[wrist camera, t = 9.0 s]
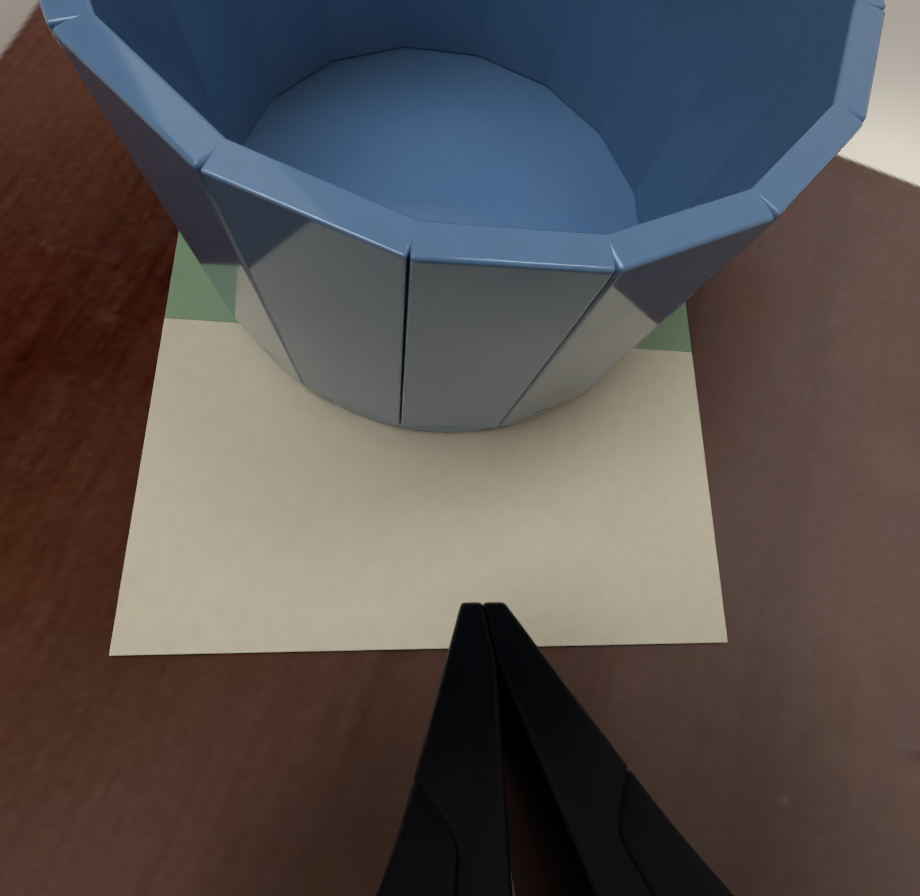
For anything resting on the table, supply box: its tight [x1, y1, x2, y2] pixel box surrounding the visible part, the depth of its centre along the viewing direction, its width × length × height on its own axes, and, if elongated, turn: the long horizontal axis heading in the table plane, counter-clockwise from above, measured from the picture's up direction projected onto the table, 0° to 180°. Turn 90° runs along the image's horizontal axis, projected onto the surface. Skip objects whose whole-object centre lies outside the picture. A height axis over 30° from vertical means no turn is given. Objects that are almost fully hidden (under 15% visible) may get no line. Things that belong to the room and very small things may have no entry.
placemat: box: [109, 232, 728, 656], centre depth 17 cm, size 20×19×1 cm
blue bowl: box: [39, 0, 885, 433], centre depth 14 cm, size 16×16×10 cm
